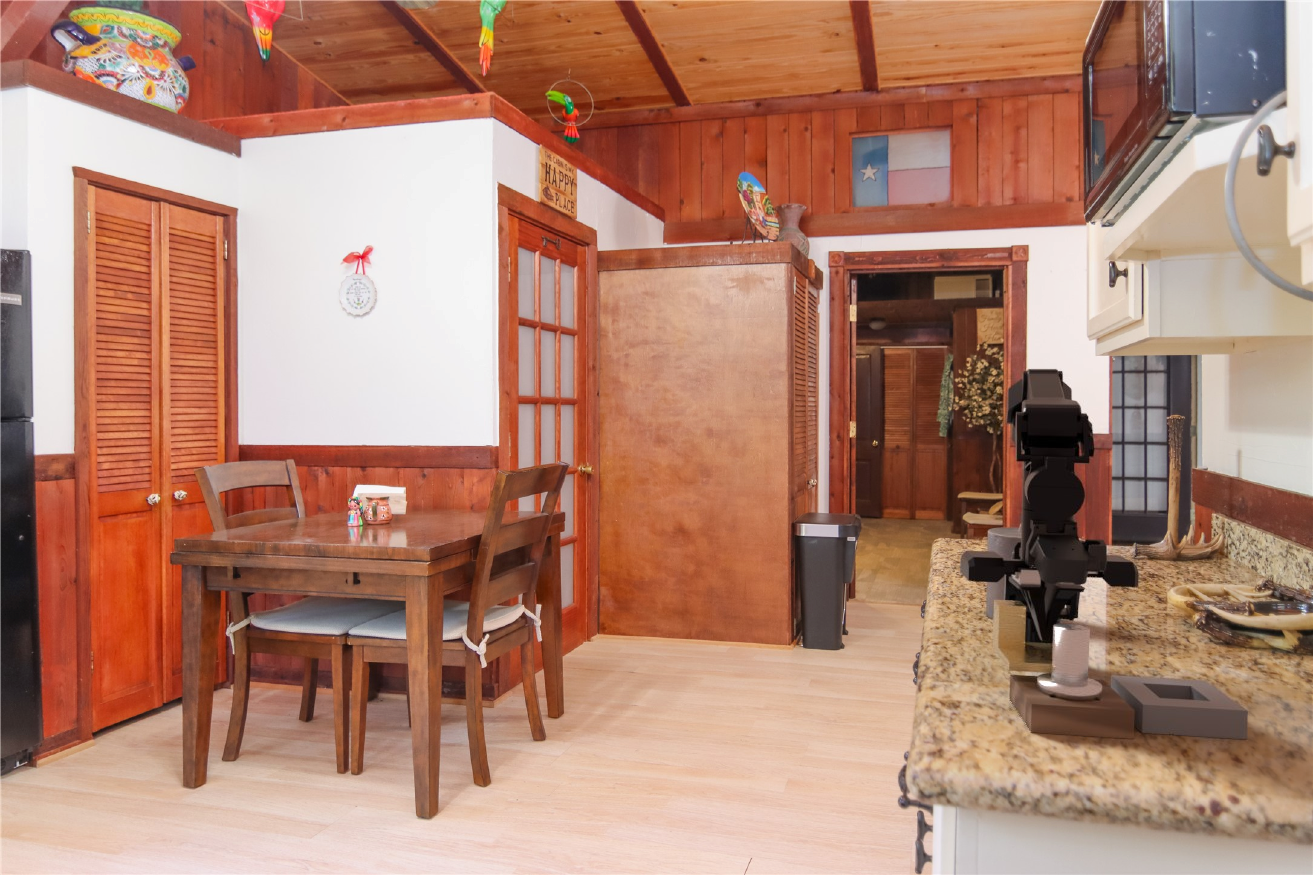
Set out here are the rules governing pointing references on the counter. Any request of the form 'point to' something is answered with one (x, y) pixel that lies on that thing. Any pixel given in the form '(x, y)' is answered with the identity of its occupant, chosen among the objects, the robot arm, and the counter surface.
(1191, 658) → the counter surface
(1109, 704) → the walnut socket block
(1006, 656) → the brass key
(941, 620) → the counter surface
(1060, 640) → the steel pin
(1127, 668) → the counter surface
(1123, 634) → the counter surface
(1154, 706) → the grey square collar
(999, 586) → the pillar candle
